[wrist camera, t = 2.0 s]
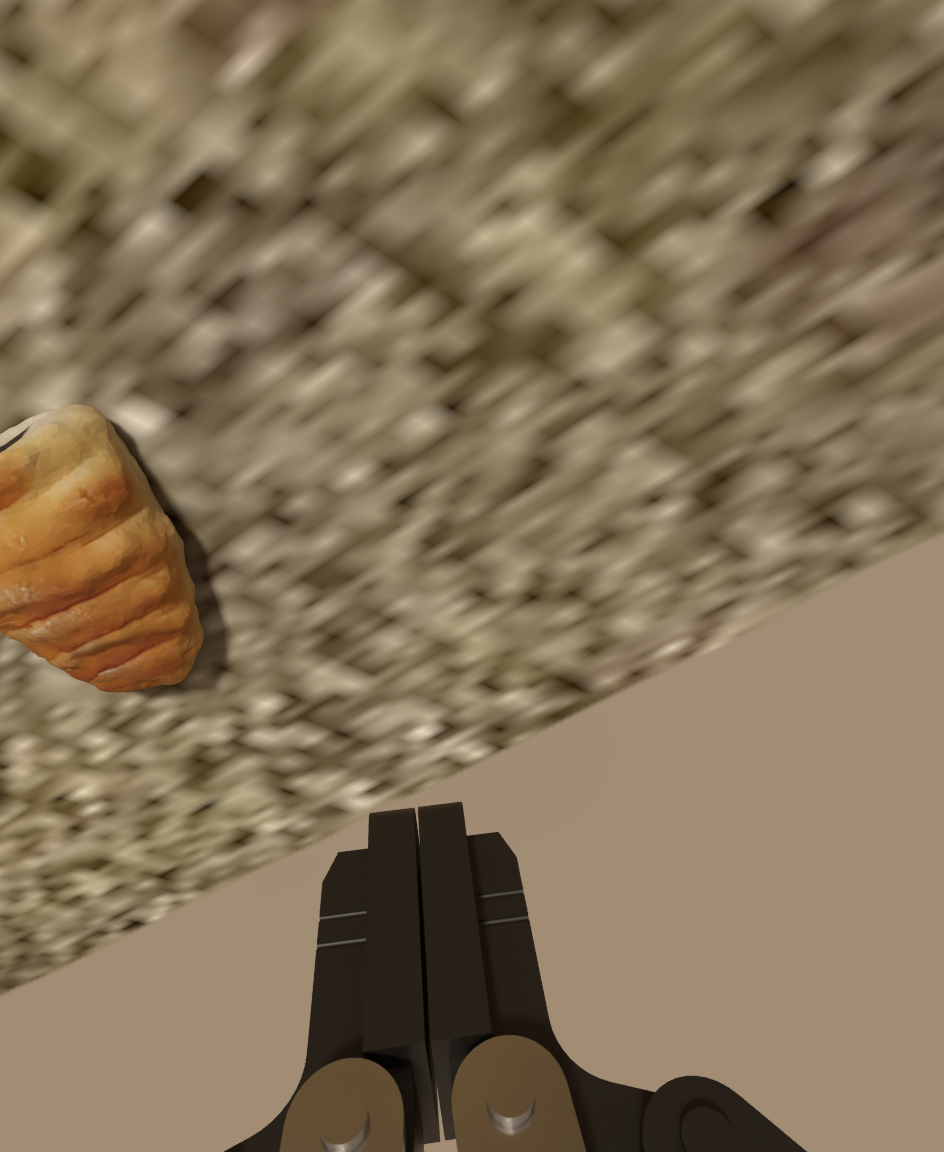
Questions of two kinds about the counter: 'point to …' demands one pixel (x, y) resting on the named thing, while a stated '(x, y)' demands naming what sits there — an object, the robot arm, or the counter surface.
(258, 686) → the counter surface
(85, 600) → the pastry
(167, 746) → the counter surface
